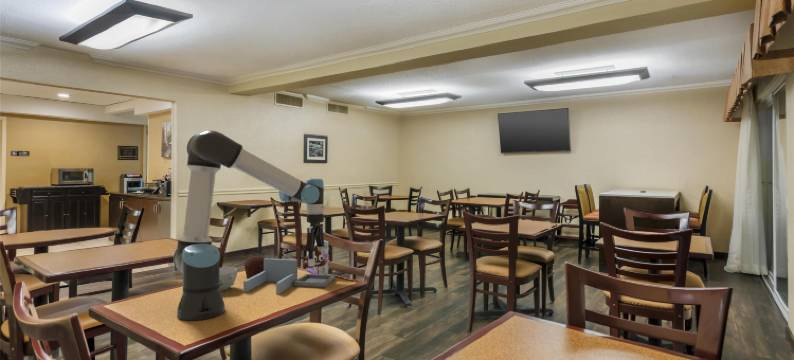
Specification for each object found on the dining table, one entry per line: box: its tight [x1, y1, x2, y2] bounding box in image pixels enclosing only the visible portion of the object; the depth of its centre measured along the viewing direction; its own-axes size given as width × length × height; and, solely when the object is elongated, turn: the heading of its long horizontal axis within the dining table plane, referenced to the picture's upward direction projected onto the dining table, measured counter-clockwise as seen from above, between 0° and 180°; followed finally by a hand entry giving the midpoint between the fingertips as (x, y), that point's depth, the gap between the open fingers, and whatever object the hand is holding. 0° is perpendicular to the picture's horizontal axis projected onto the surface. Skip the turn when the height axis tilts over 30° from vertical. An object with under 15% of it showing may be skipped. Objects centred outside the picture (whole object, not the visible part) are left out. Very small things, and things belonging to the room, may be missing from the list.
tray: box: [293, 273, 336, 289], centre depth 188 cm, size 14×14×2 cm
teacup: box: [219, 266, 238, 292], centre depth 177 cm, size 15×12×8 cm
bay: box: [243, 257, 298, 295], centre depth 182 cm, size 19×15×10 cm
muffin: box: [243, 254, 266, 280], centre depth 197 cm, size 12×11×10 cm
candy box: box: [306, 239, 330, 275], centre depth 206 cm, size 14×6×16 cm, turn 34°
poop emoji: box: [303, 245, 326, 269], centre depth 188 cm, size 10×8×9 cm
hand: (315, 263), depth 188 cm, fingers closed on poop emoji, 9 cm apart
